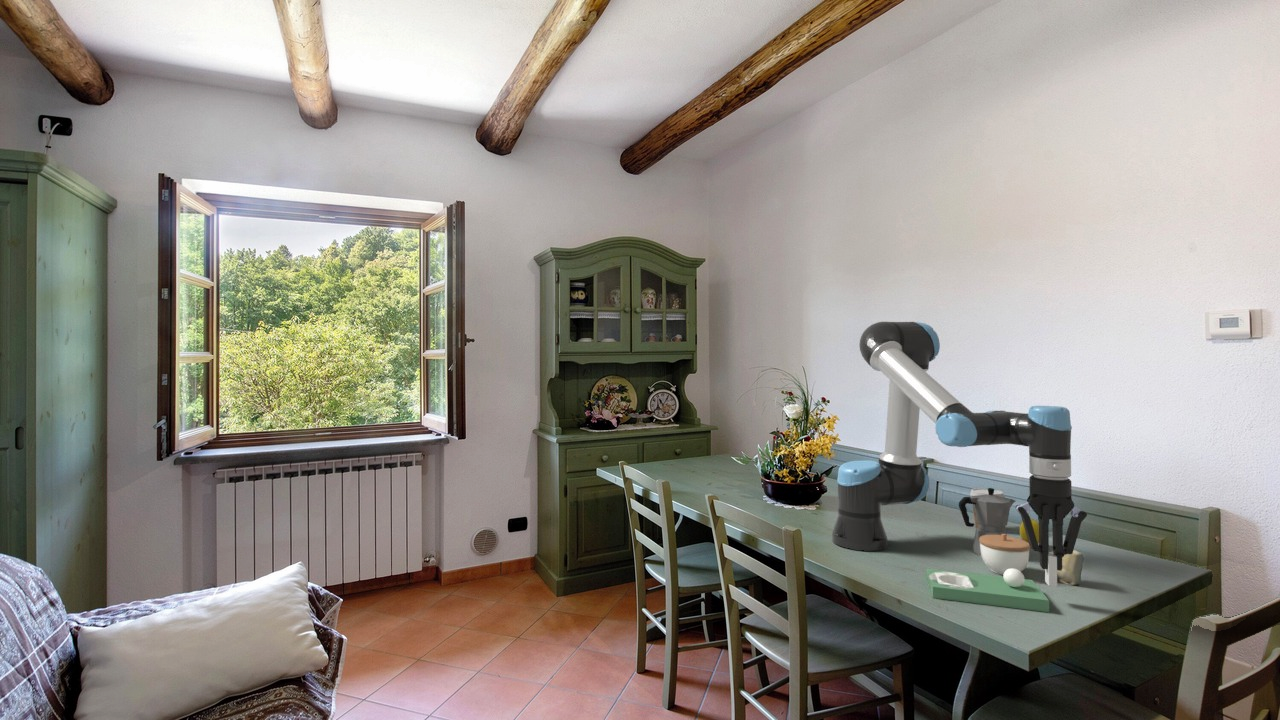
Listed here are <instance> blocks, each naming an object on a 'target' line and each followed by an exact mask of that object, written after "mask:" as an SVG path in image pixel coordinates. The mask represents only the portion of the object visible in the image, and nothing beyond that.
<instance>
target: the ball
mask: <svg viewBox="0 0 1280 720" xmlns="http://www.w3.org/2000/svg"><path fill="white" fill-rule="evenodd" d="M1002 577H1003V578H1004V581H1005V582H1006V583H1007V584H1008V585H1009V586H1011V587H1020V586H1022V585H1023V584H1024V581H1025V579H1026V578H1025V576H1024V574H1023V573H1022V571H1021V572H1020V571H1019V570H1017V569H1014V568H1010V569H1007V570H1006V571H1005V572H1004V574H1003V575H1002Z"/></svg>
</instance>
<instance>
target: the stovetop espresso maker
mask: <svg viewBox="0 0 1280 720" xmlns="http://www.w3.org/2000/svg"><path fill="white" fill-rule="evenodd" d="M987 494H989V493H988V488H985V487H977V488H971V490H970V493H969V495H970V497H972V496H978V495H987ZM993 495H996V496H999V497H1004V498H1006V495H1004V491H1002V490H998V489H994V494H993ZM972 508H973V510H972V511H973V517H974V526H975V529H976V528H977V521H976V517H975V511H974V505H973V504H972Z"/></svg>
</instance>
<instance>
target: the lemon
mask: <svg viewBox="0 0 1280 720" xmlns="http://www.w3.org/2000/svg"><path fill="white" fill-rule="evenodd" d="M1030 519H1031V522H1032V526H1033V529H1034V533H1035V536H1036V540H1037V543H1038V544H1039V521H1036V519H1035V520H1034V519H1033V518H1031V517H1030ZM1019 537H1020V539H1022V540H1024V541H1026V542H1028V538H1027V535H1026V531H1025V528H1024V524H1023V521H1022V522H1021V524H1020V526H1019ZM1028 543H1029V542H1028Z"/></svg>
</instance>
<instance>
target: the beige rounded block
mask: <svg viewBox="0 0 1280 720" xmlns="http://www.w3.org/2000/svg"><path fill="white" fill-rule="evenodd" d="M1084 557H1085V556H1084V554H1083V553H1082V552H1080V551H1077V550H1076V549H1074V550H1073V553H1072V554H1066V555H1064V557H1062V570H1061V571H1059V570H1057V578H1058V580H1059V582H1060V583H1062V584H1066V585H1070V586H1071V587H1080V585H1081V579H1082V572H1083V571H1082V570H1083V563H1084Z"/></svg>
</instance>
